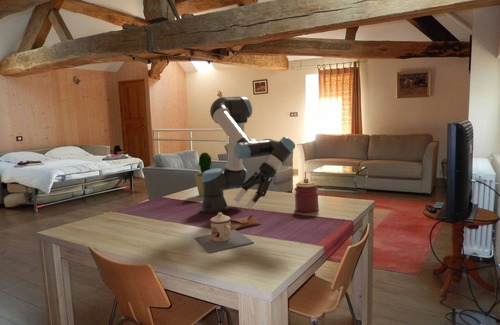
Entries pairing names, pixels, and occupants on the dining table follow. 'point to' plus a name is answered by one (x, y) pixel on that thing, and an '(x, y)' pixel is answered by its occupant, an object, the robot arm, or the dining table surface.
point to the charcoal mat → (215, 246)
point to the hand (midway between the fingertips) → (241, 204)
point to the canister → (306, 196)
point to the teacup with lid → (220, 228)
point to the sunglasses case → (243, 223)
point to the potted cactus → (204, 166)
